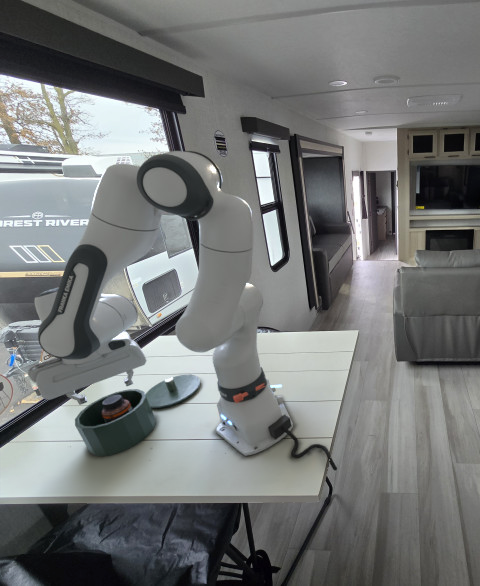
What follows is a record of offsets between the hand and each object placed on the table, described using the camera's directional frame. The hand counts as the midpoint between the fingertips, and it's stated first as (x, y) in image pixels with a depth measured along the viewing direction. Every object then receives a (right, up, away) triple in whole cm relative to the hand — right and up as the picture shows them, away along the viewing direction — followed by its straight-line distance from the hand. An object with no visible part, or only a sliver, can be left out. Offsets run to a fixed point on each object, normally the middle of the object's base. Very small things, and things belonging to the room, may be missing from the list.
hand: (107, 393), depth 82 cm
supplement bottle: (0, -13, +6) cm, 14 cm away
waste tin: (0, -13, +5) cm, 14 cm away
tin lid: (+3, -6, +21) cm, 22 cm away
